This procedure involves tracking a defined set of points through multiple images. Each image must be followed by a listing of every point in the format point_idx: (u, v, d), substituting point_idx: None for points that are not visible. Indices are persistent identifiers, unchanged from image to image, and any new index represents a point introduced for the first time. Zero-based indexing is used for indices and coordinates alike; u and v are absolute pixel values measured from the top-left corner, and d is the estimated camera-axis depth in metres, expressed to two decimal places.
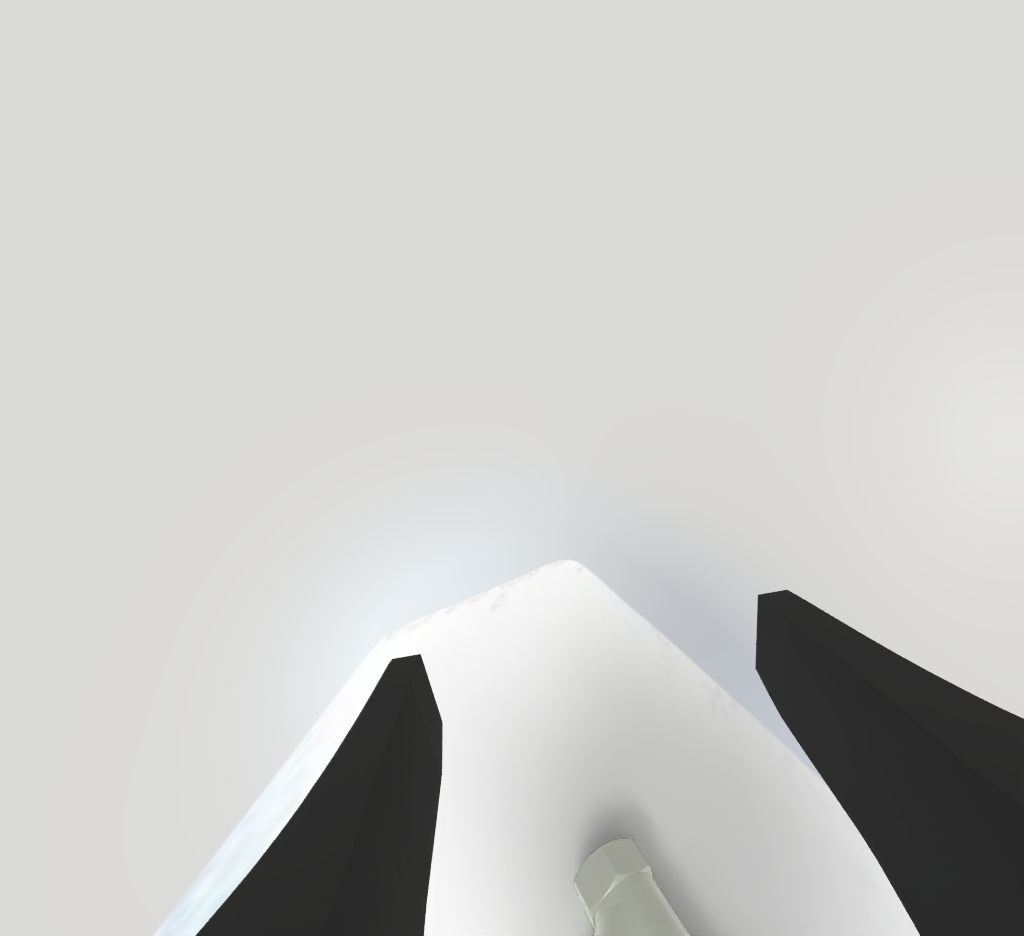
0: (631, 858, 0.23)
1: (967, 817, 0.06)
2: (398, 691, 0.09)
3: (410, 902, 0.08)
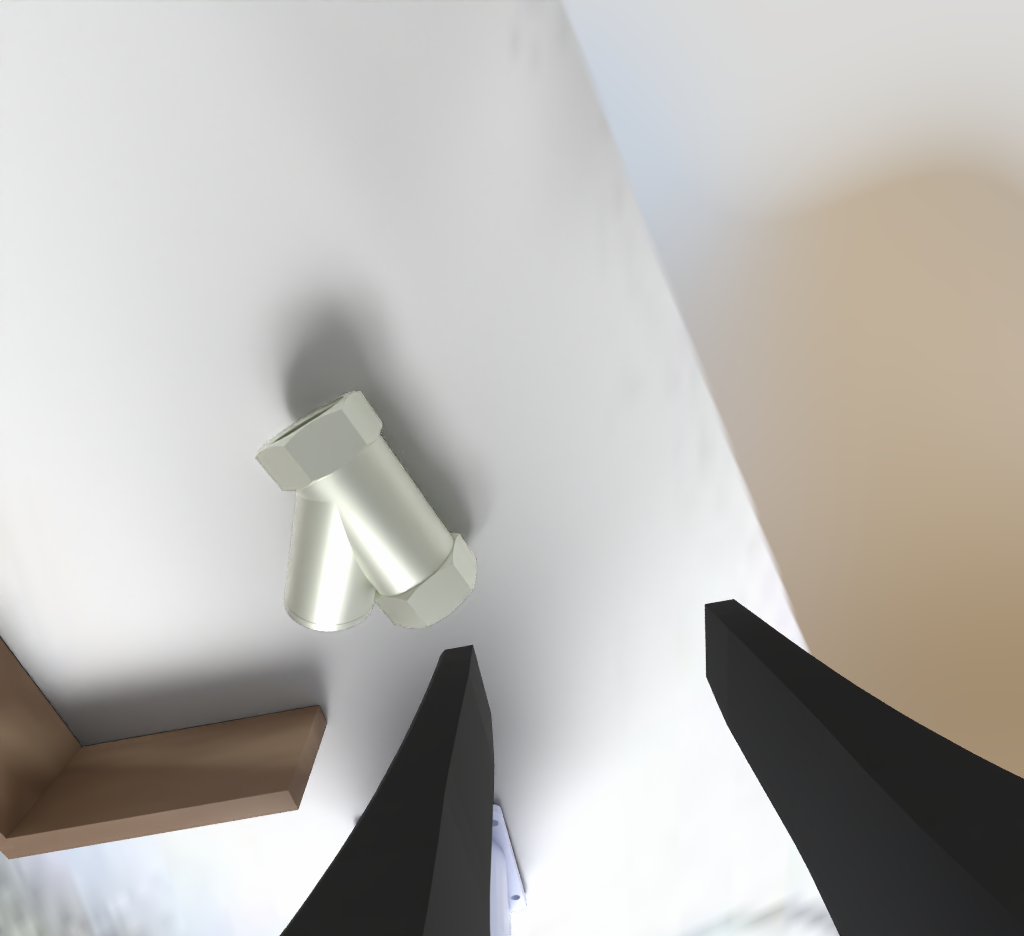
0: (338, 445, 0.15)
1: (876, 833, 0.06)
2: (457, 680, 0.09)
3: (479, 890, 0.08)
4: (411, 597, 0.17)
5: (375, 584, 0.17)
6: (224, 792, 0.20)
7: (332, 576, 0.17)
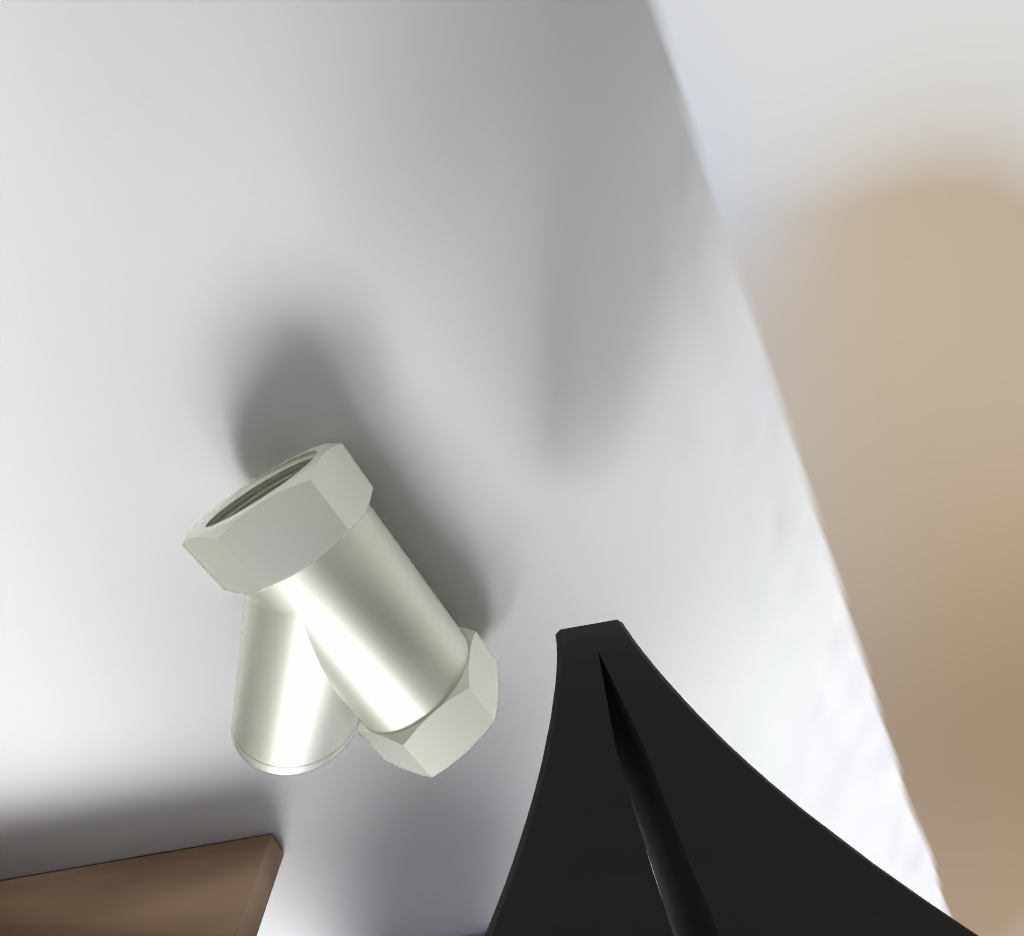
0: (304, 533, 0.10)
1: (677, 866, 0.06)
2: (587, 657, 0.09)
3: None
4: (409, 739, 0.12)
5: (358, 715, 0.12)
6: None
7: (295, 709, 0.12)
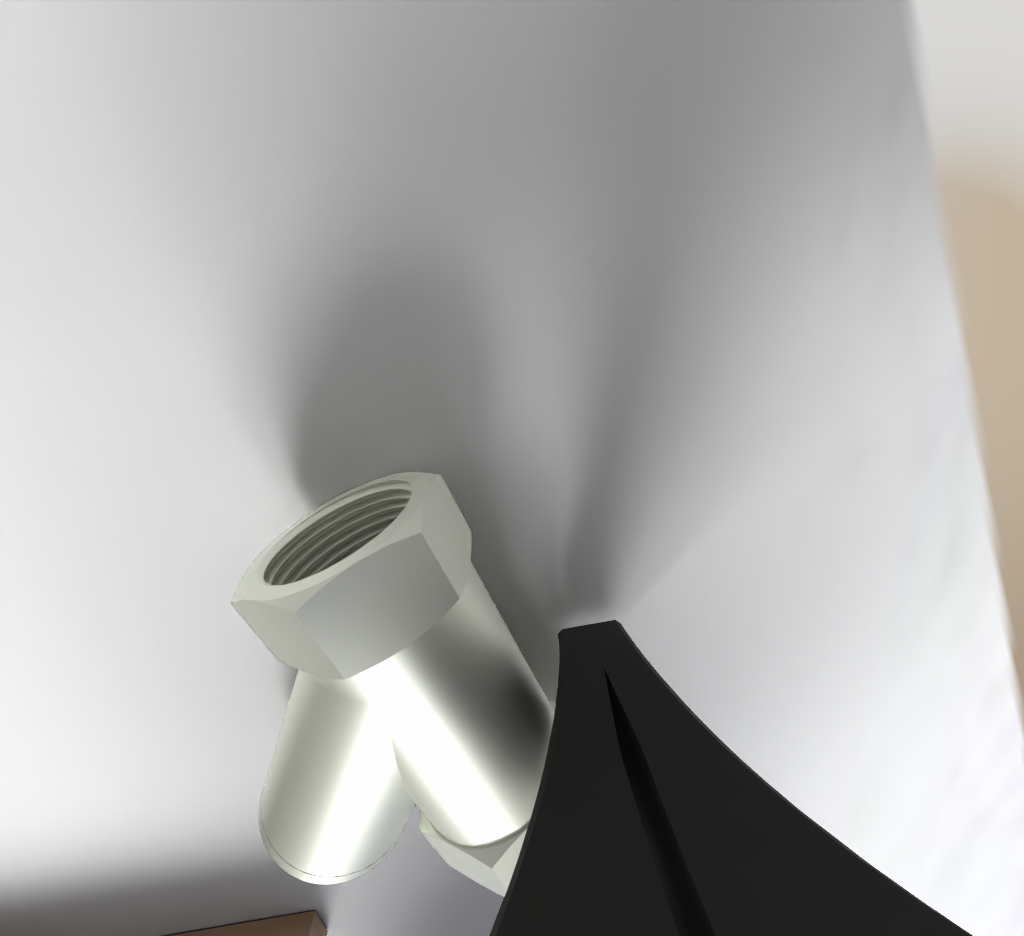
0: (405, 604, 0.07)
1: (674, 867, 0.06)
2: (590, 657, 0.09)
3: None
4: (499, 860, 0.09)
5: (430, 820, 0.09)
6: None
7: (355, 814, 0.09)
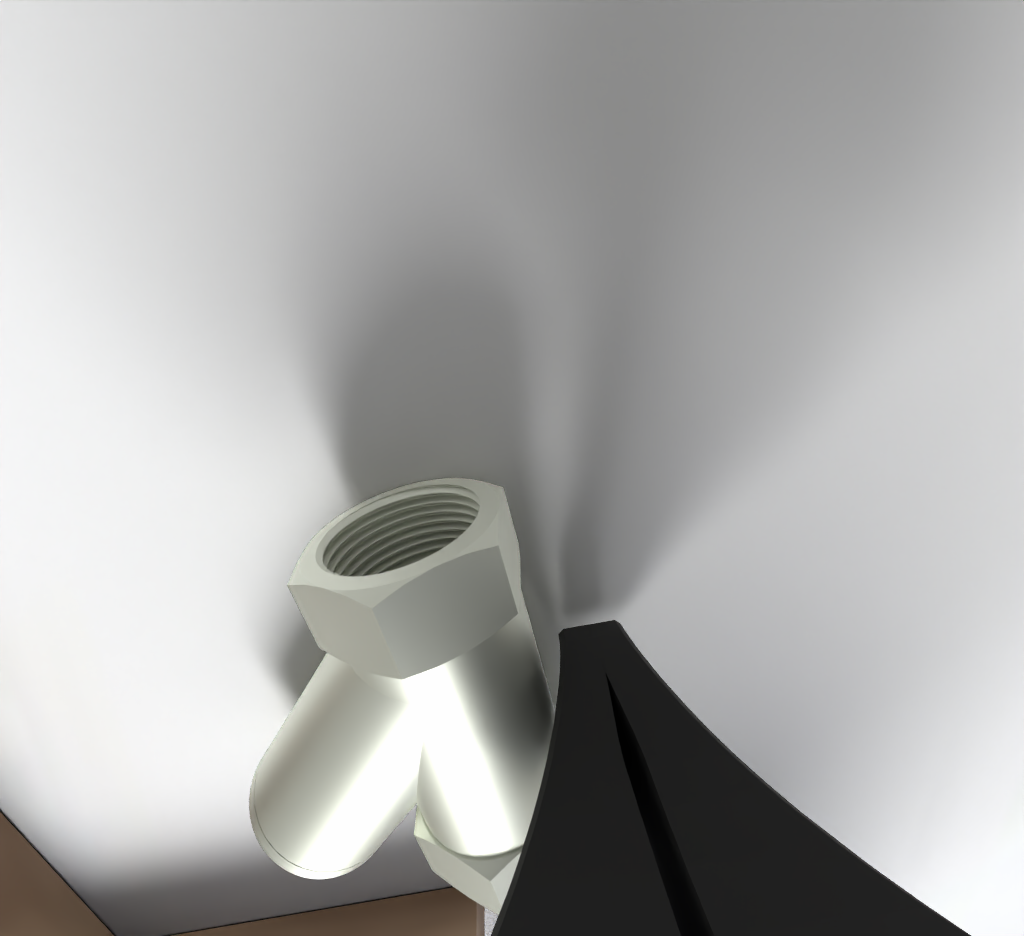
0: (470, 612, 0.07)
1: (673, 867, 0.06)
2: (591, 657, 0.09)
3: None
4: (498, 873, 0.09)
5: (433, 825, 0.09)
6: None
7: (364, 812, 0.09)
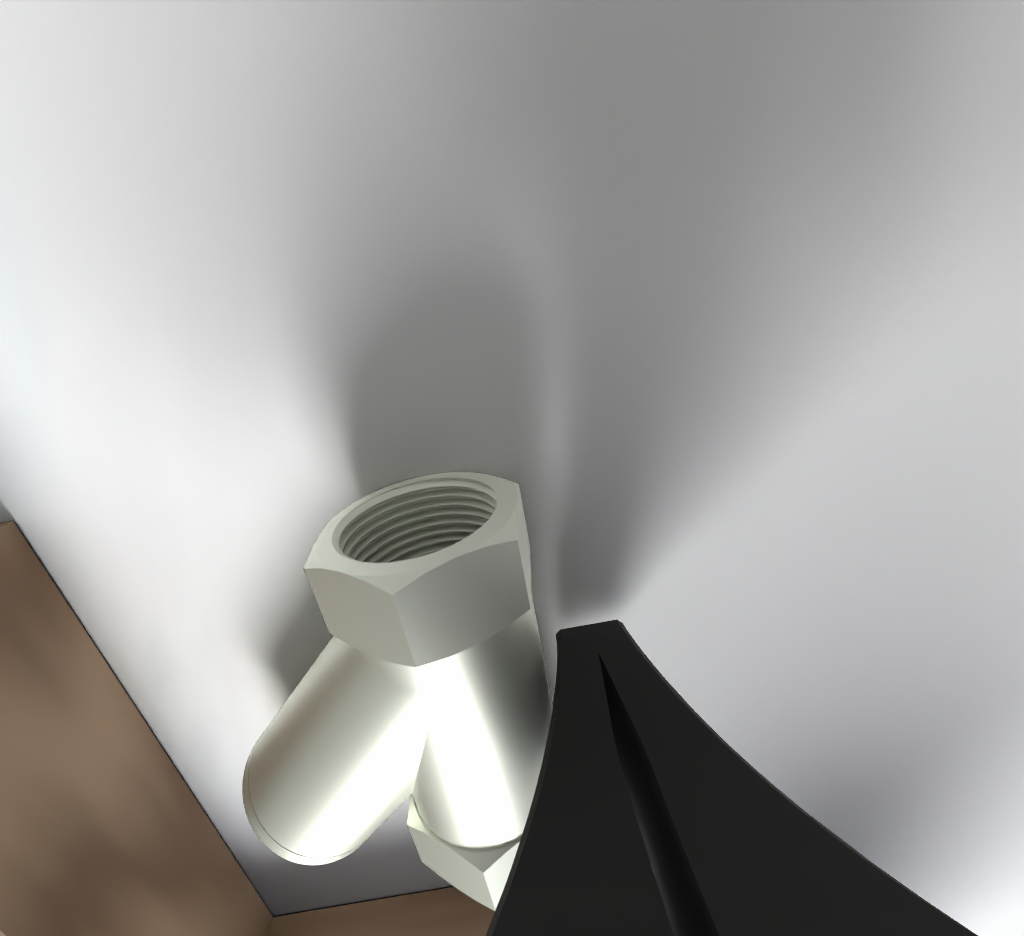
0: (486, 604, 0.07)
1: (677, 866, 0.06)
2: (588, 658, 0.09)
3: None
4: (491, 866, 0.09)
5: (428, 815, 0.10)
6: None
7: (362, 799, 0.09)
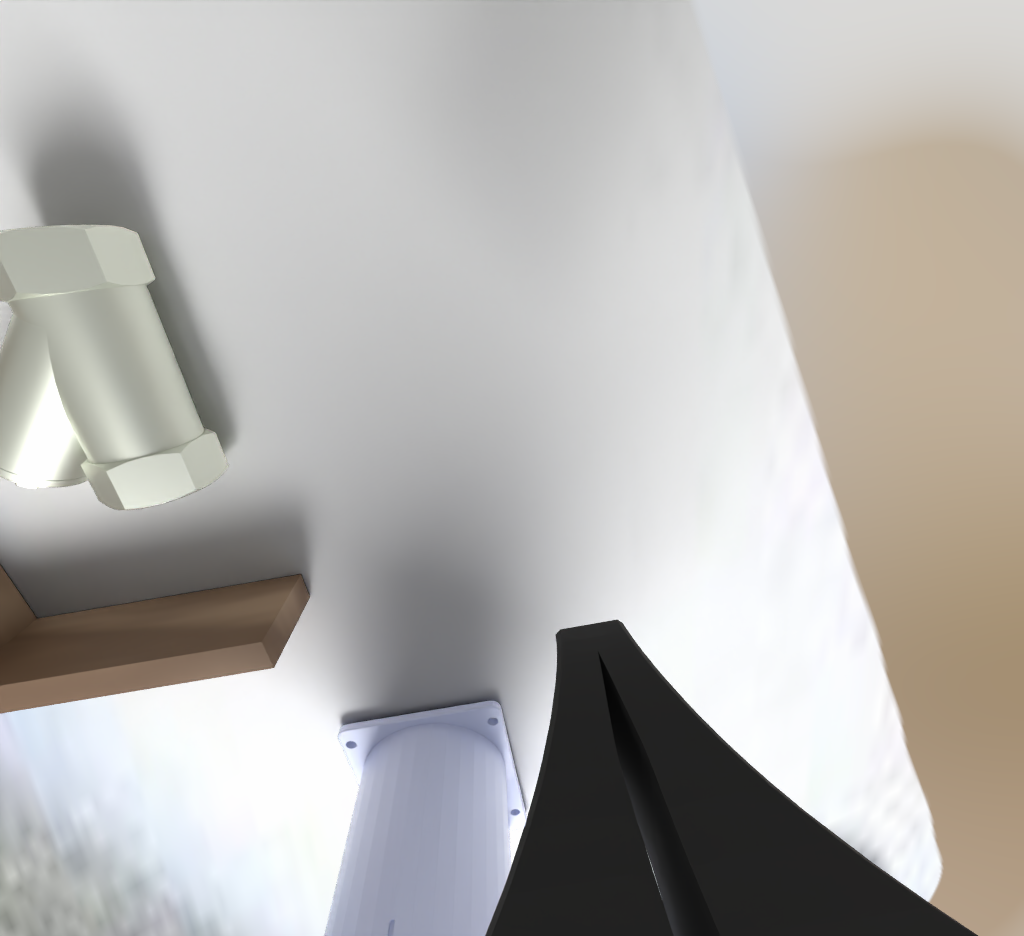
0: (66, 267, 0.13)
1: (677, 866, 0.06)
2: (587, 658, 0.09)
3: None
4: (113, 470, 0.15)
5: (81, 445, 0.15)
6: (190, 647, 0.17)
7: (26, 416, 0.14)
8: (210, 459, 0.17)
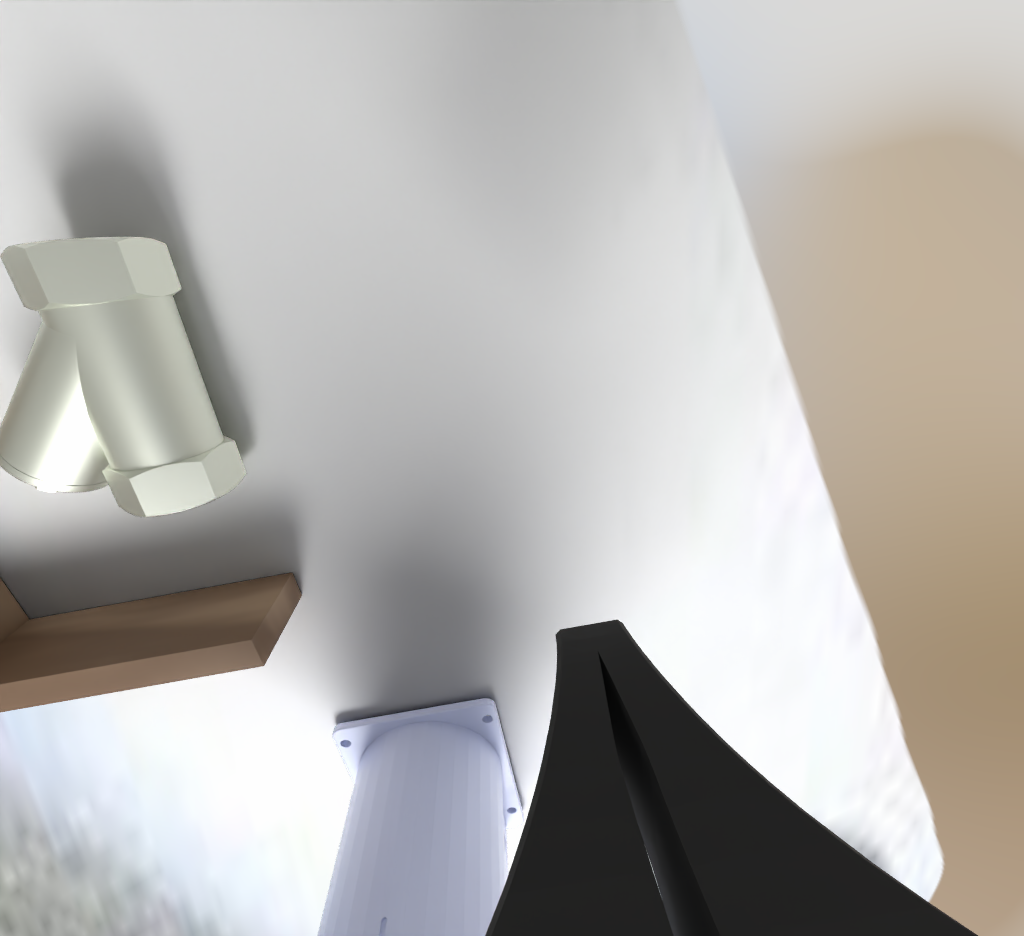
0: (98, 278, 0.13)
1: (677, 866, 0.06)
2: (588, 657, 0.09)
3: None
4: (136, 477, 0.15)
5: (104, 451, 0.15)
6: (180, 645, 0.17)
7: (51, 423, 0.15)
8: (229, 467, 0.17)
